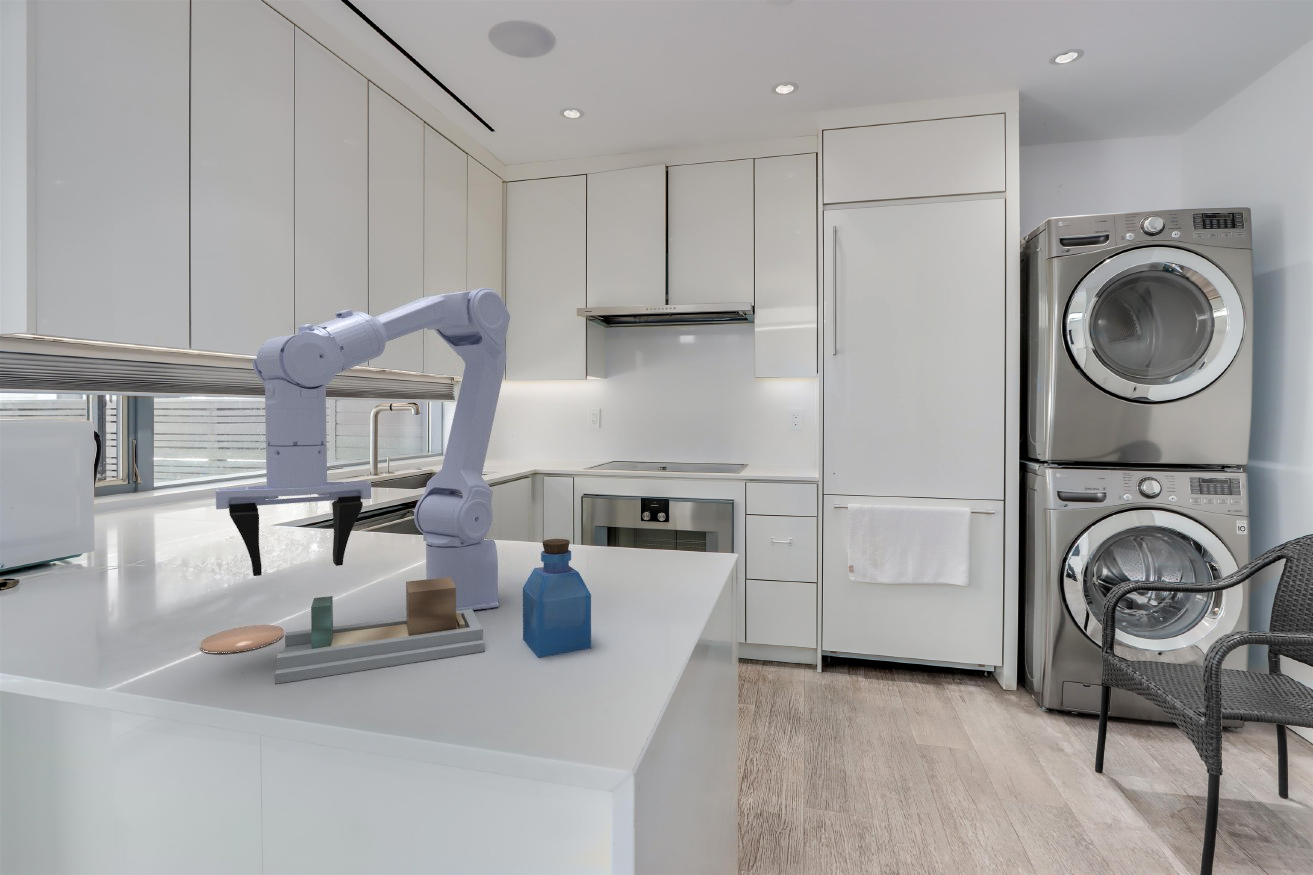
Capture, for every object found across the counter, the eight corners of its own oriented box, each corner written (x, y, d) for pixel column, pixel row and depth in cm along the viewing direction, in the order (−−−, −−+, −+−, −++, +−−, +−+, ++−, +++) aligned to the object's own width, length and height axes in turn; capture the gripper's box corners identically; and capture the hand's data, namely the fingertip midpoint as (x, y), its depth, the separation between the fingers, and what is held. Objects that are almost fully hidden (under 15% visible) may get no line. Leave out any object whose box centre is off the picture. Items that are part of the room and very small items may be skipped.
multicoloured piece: (459, 623, 74) (459, 581, 74) (465, 636, 70) (465, 591, 69) (315, 642, 67) (314, 596, 67) (311, 658, 63) (310, 608, 63)
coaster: (287, 625, 76) (287, 621, 76) (278, 646, 69) (278, 642, 69) (209, 634, 73) (209, 630, 73) (192, 658, 66) (192, 654, 66)
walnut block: (451, 617, 73) (450, 576, 73) (456, 630, 69) (455, 587, 69) (406, 623, 71) (406, 581, 71) (408, 637, 67) (408, 592, 67)
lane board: (471, 623, 77) (470, 606, 77) (484, 651, 68) (484, 631, 68) (287, 648, 68) (287, 629, 68) (275, 683, 59) (274, 661, 59)
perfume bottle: (537, 658, 66) (537, 549, 66) (522, 639, 72) (522, 538, 71) (591, 648, 69) (591, 543, 69) (572, 631, 75) (572, 534, 74)
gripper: (362, 442, 74) (363, 553, 74) (214, 445, 65) (217, 570, 66) (374, 444, 68) (376, 564, 68) (214, 448, 59) (217, 585, 60)
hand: (298, 568), depth 67 cm, fingers open, 7 cm apart
